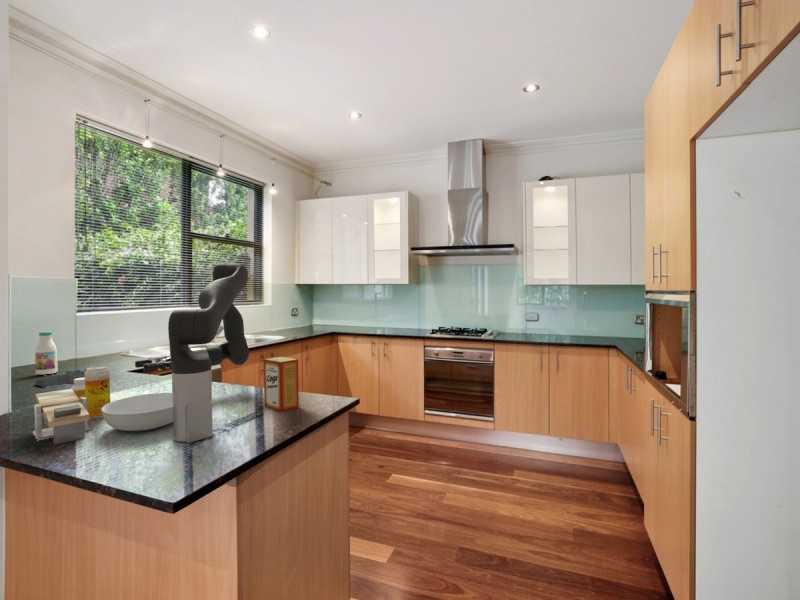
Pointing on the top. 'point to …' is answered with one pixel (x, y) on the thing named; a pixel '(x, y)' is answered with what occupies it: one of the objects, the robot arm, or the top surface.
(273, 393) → the baking soda box
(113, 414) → the serving bowl
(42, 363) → the milk bottle
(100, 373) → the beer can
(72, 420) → the seesaw
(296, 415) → the top surface
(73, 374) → the dark slate chunk
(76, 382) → the supplement bottle
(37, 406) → the stand
